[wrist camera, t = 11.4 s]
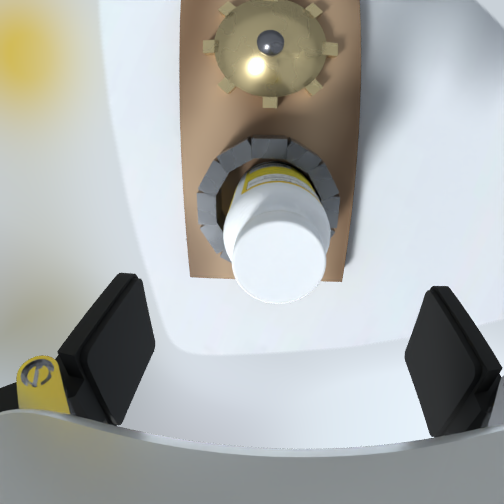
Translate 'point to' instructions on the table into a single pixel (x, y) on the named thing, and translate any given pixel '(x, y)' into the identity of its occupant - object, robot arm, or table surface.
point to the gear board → (267, 122)
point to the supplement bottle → (276, 234)
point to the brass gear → (270, 48)
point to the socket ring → (240, 154)
